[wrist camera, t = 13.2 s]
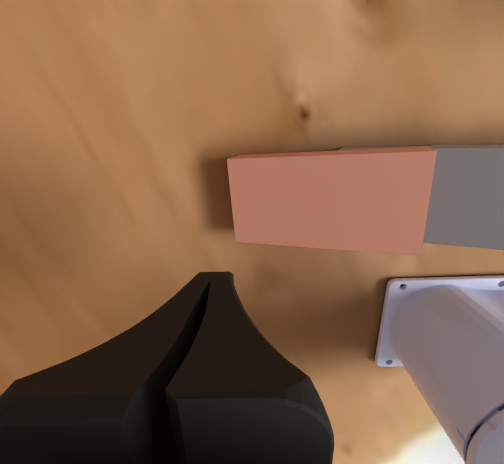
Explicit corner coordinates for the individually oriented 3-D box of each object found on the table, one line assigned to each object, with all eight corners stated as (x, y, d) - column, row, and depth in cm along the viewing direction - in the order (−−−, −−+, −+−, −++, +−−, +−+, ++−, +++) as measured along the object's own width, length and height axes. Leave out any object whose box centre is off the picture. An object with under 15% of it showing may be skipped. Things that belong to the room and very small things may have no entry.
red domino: (240, 154, 17) (427, 146, 14) (247, 230, 19) (414, 240, 16) (226, 158, 16) (436, 150, 12) (235, 242, 17) (421, 255, 14)
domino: (342, 147, 17) (556, 143, 14) (336, 224, 19) (526, 238, 15) (339, 150, 15) (584, 146, 12) (333, 235, 17) (546, 253, 14)
